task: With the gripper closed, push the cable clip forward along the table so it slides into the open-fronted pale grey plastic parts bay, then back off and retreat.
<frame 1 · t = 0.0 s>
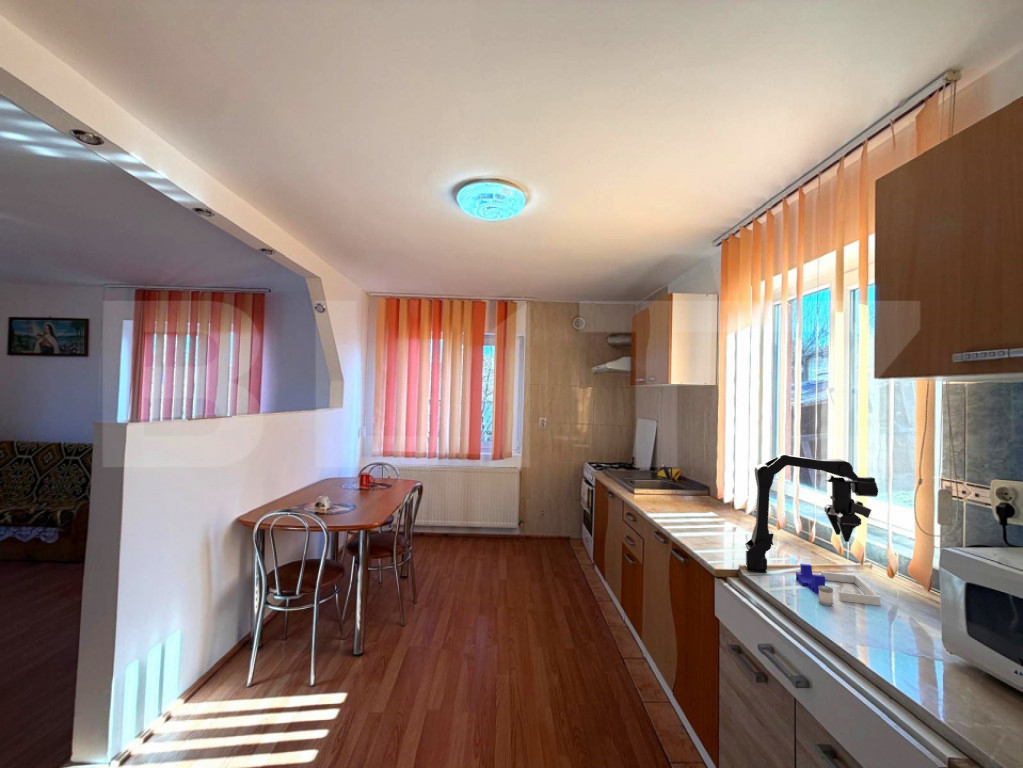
hand: (842, 538, 170), 15 cm above the worktop, fingers open, 9 cm apart
cable clip: (810, 587, 163), on the worktop
grey cylinder: (825, 603, 149), on the worktop
parts tray: (847, 590, 159), on the worktop
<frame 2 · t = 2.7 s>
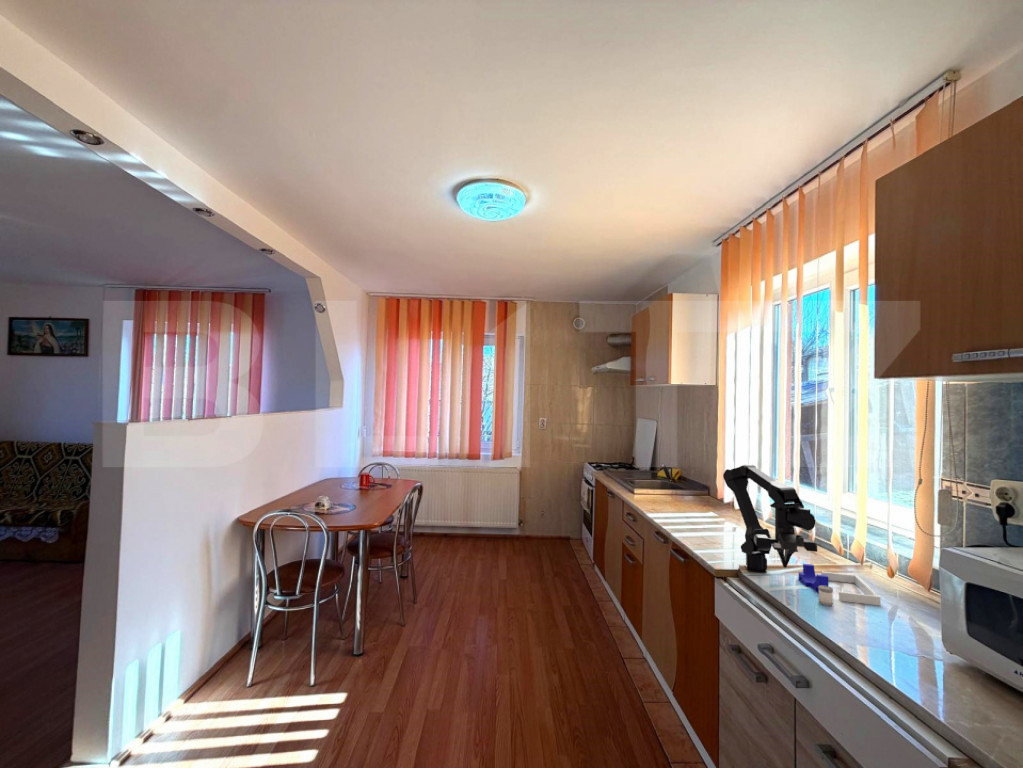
hand: (784, 567, 165), 6 cm above the worktop, fingers closed
cable clip: (813, 587, 163), on the worktop
everything else where it was.
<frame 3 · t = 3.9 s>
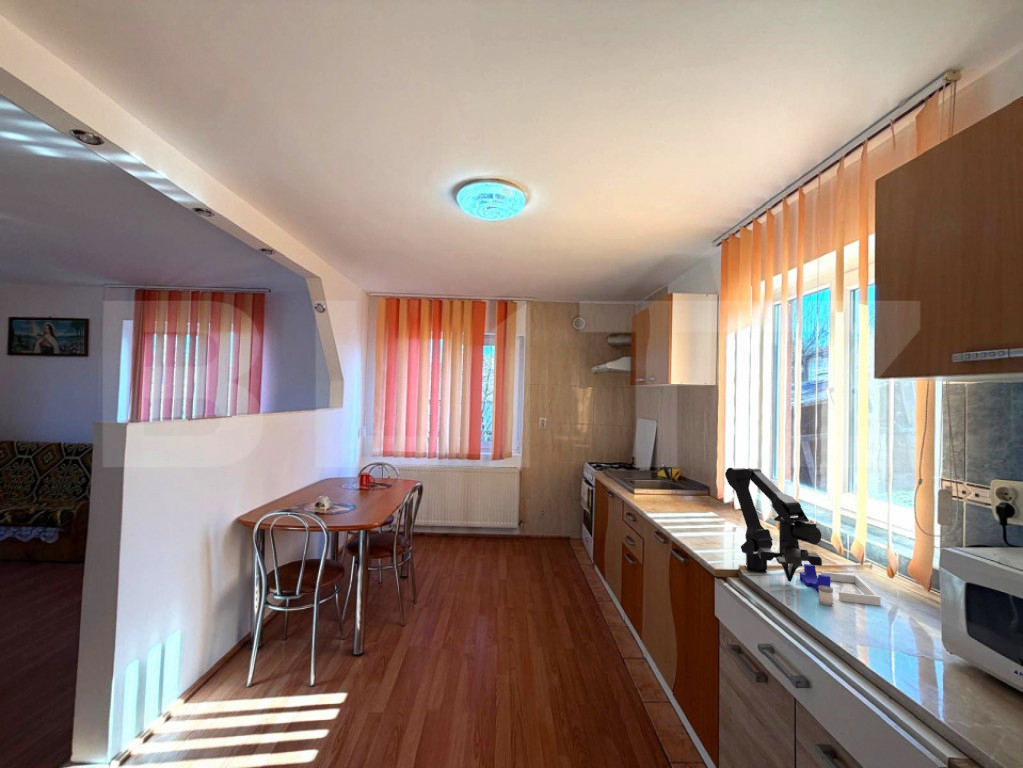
hand: (789, 581, 165), 1 cm above the worktop, fingers closed
nothing on the worktop moved.
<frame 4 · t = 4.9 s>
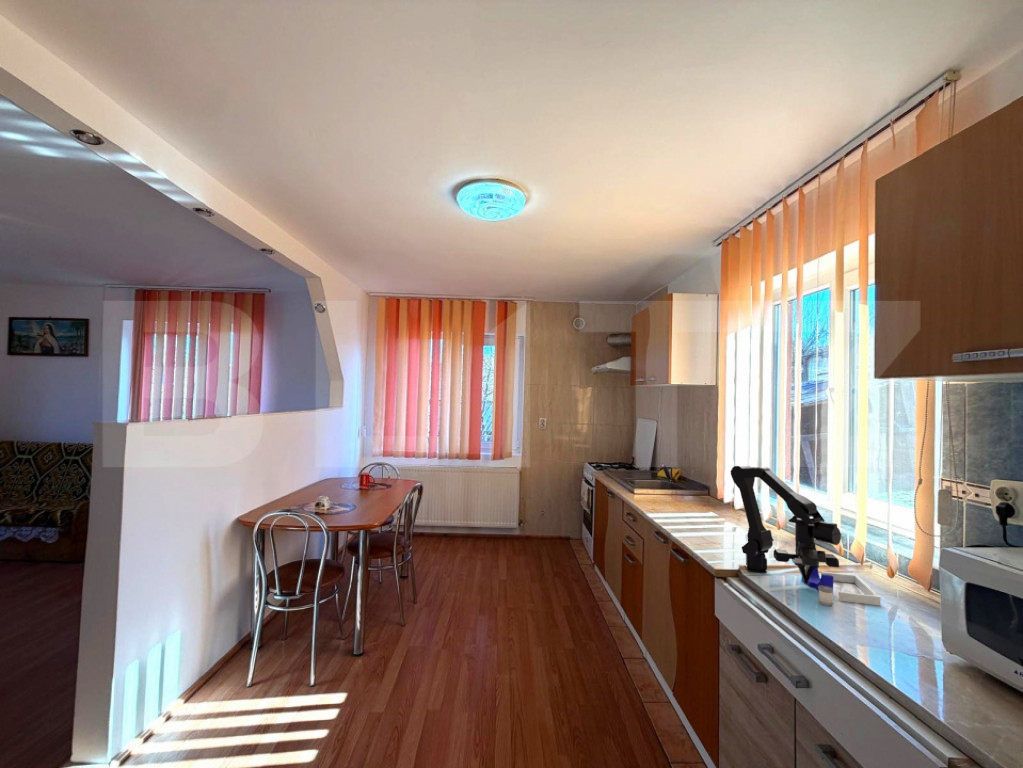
hand: (805, 582, 163), 1 cm above the worktop, fingers closed
cable clip: (816, 587, 162), on the worktop, touching gripper
everything else where it was.
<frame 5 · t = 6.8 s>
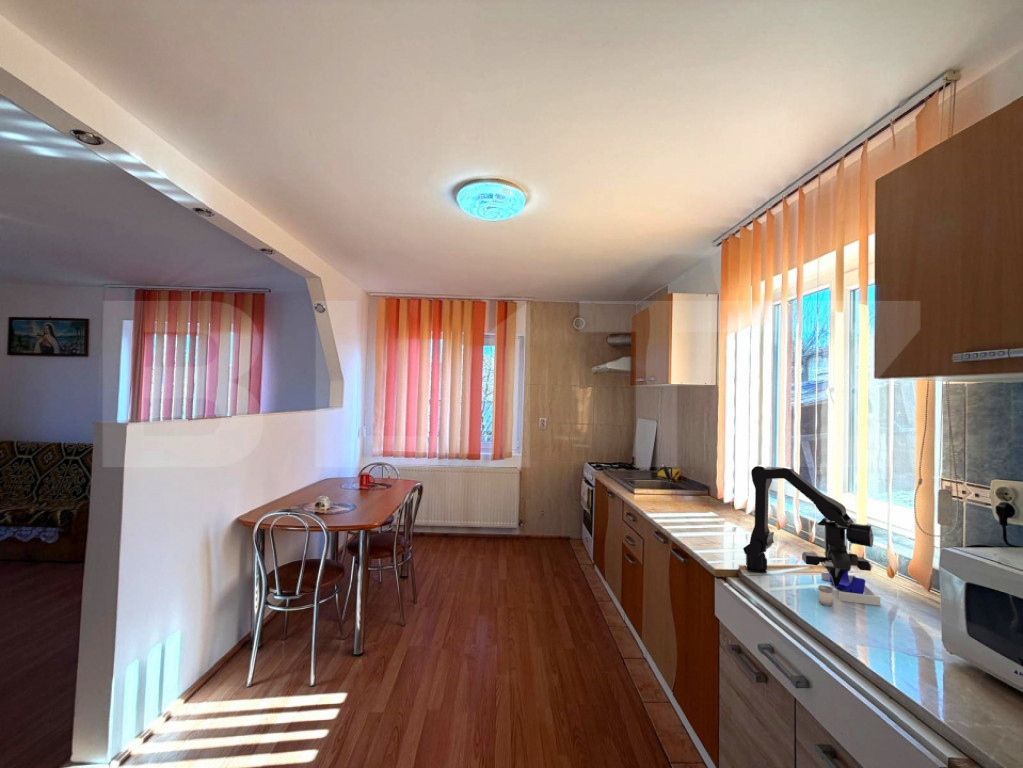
hand: (835, 586, 160), 1 cm above the worktop, fingers closed
cable clip: (845, 590, 160), on the worktop, touching gripper
everything else where it was.
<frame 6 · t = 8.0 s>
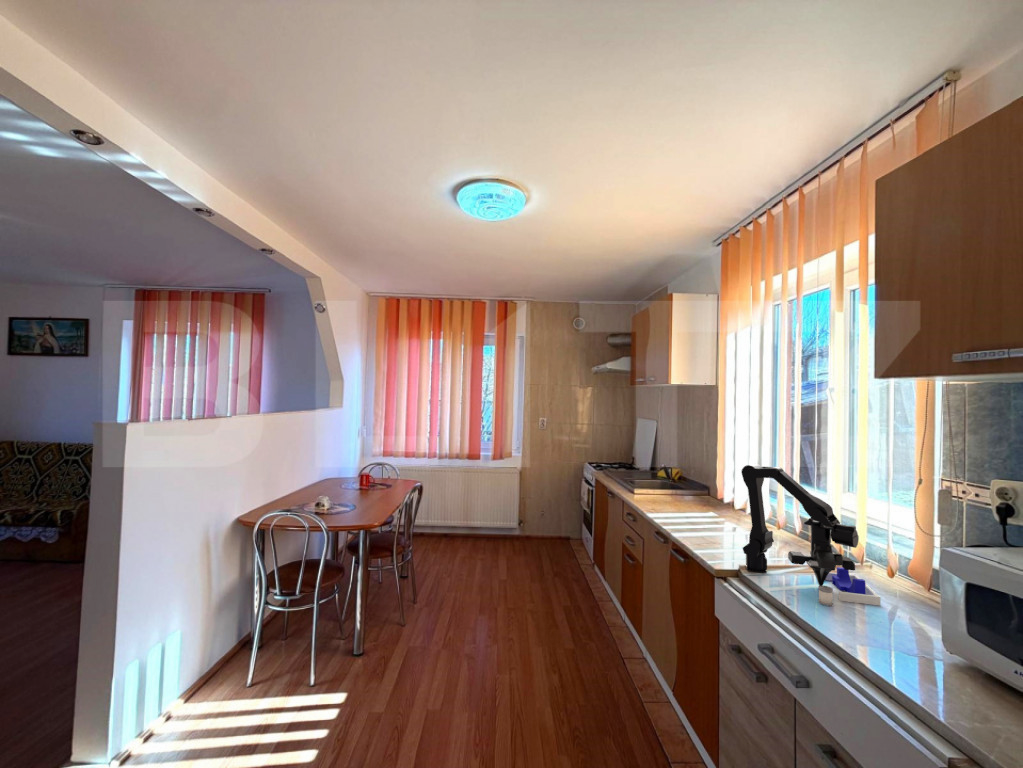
hand: (820, 585, 162), 1 cm above the worktop, fingers closed
cable clip: (848, 592, 159), on the worktop
everything else where it was.
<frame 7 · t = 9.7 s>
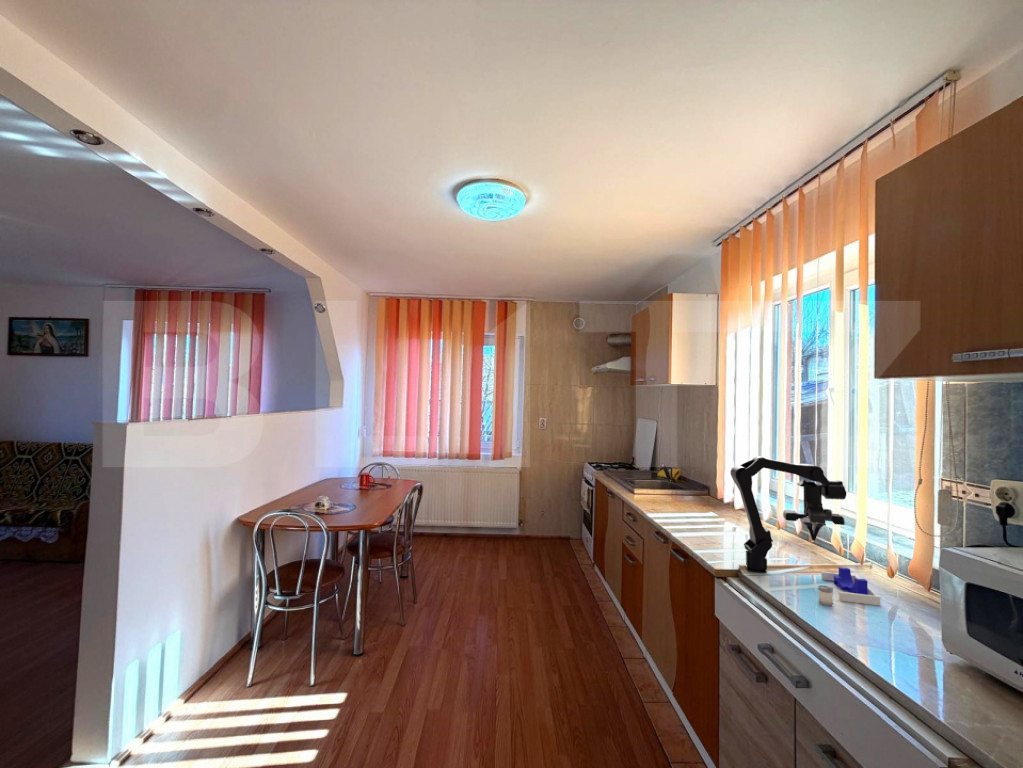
hand: (813, 540, 176), 12 cm above the worktop, fingers closed
nothing on the worktop moved.
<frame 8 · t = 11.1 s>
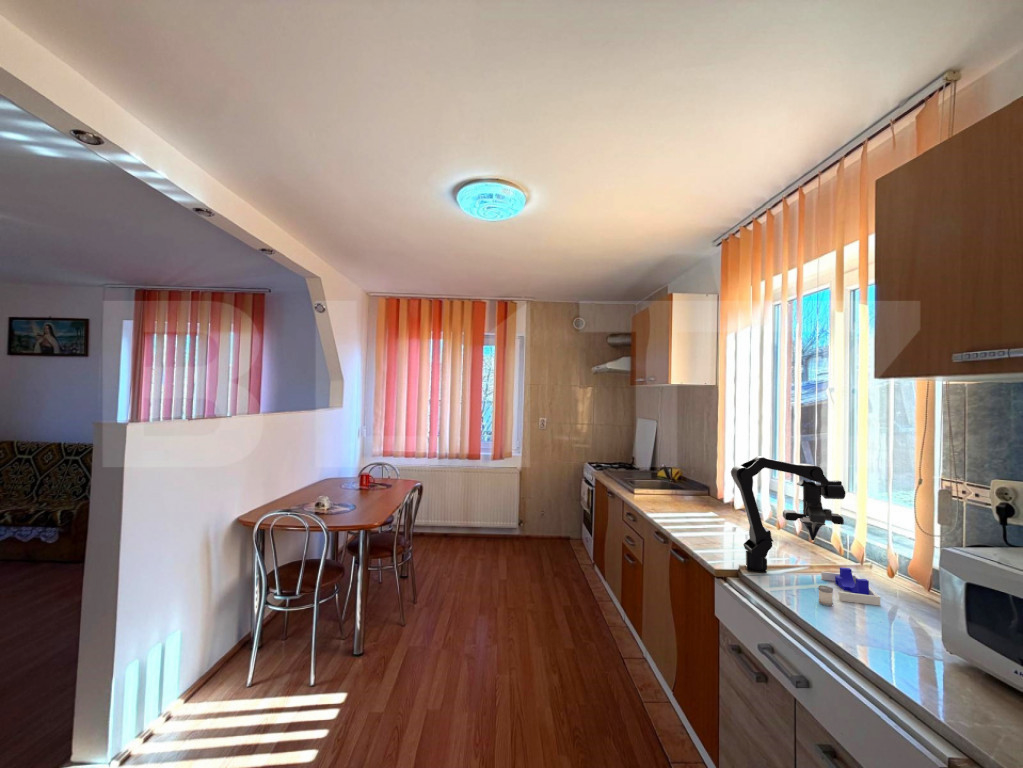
hand: (812, 540, 177), 12 cm above the worktop, fingers closed
at the end: cable clip inside the target area on the parts tray (1.6 cm from its centre), point -0.5 cm above the parts tray's base; cable clip moved 12.5 cm from its start; grey cylinder moved 0.0 cm from its start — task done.
